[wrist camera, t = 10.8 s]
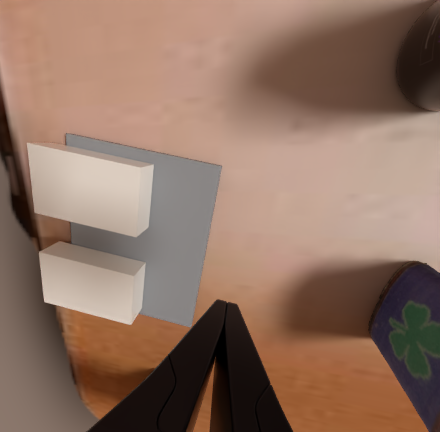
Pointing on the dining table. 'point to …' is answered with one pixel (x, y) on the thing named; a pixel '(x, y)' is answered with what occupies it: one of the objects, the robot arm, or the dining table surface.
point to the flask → (412, 336)
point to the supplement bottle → (422, 61)
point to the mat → (162, 229)
